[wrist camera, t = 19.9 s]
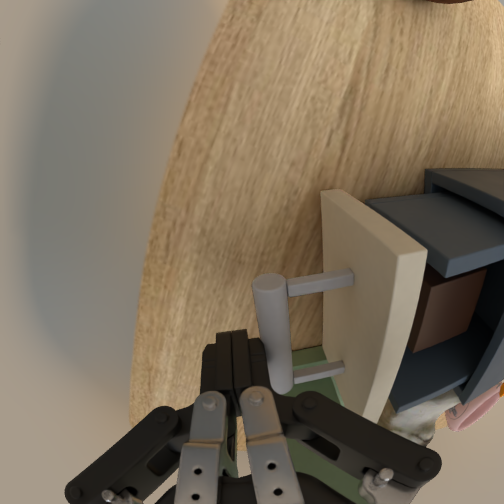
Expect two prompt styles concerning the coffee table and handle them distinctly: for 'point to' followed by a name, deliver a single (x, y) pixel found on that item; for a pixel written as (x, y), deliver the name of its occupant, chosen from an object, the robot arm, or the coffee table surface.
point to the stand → (303, 456)
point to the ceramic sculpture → (417, 418)
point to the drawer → (387, 298)
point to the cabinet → (499, 201)
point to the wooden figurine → (448, 1)
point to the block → (444, 306)
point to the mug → (472, 409)
